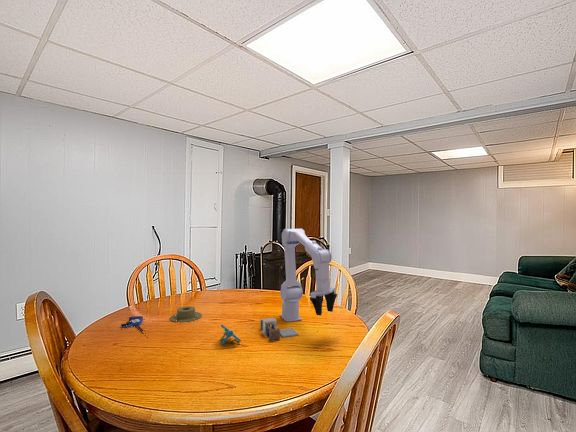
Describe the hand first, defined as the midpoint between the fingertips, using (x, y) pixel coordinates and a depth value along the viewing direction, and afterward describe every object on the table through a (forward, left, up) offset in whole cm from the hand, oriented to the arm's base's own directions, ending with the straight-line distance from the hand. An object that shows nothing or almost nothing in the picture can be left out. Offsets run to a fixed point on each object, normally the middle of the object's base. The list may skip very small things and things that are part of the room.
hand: (324, 313), depth 123 cm
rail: (-13, -19, -11) cm, 25 cm away
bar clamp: (-37, -71, -11) cm, 81 cm away
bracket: (-13, -19, -11) cm, 25 cm away
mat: (-11, -12, -11) cm, 19 cm away
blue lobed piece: (-11, -37, -11) cm, 40 cm away
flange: (-48, -51, -11) cm, 71 cm away
